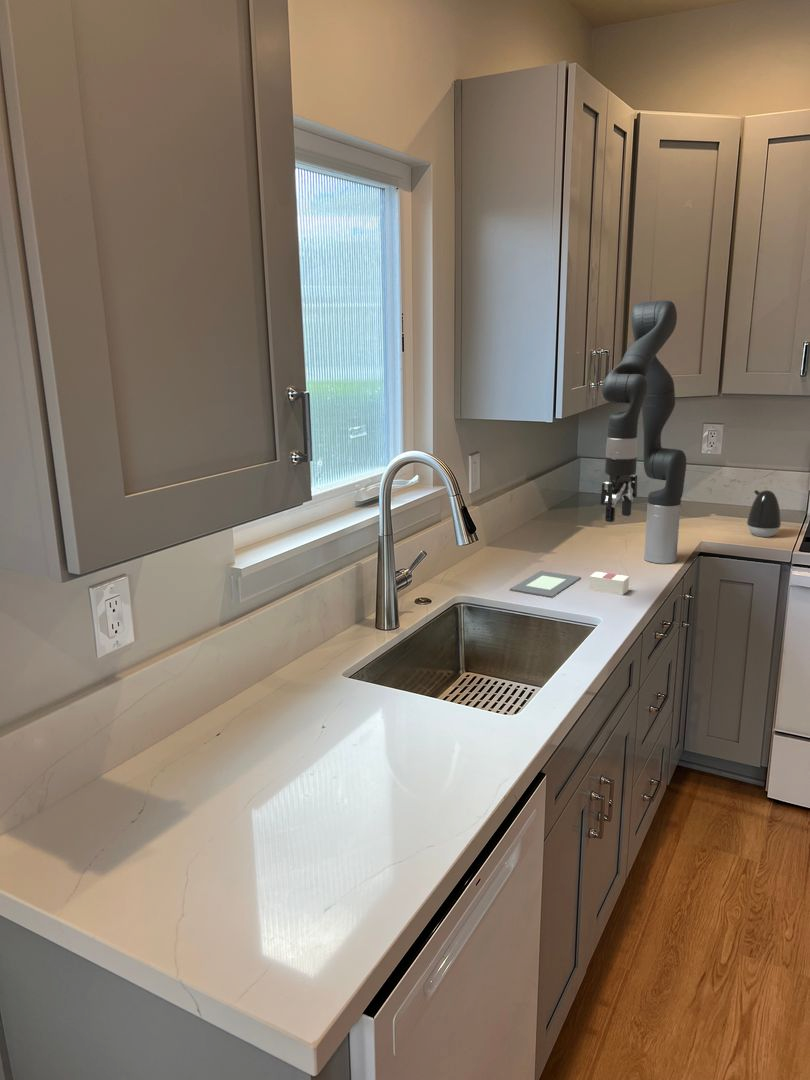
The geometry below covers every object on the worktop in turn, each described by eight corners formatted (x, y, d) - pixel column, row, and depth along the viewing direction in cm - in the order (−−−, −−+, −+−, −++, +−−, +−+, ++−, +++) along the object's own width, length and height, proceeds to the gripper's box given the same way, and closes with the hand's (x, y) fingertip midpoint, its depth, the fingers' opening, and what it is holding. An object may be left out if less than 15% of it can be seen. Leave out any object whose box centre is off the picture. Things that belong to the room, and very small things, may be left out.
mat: (540, 571, 226) (540, 570, 226) (581, 578, 220) (581, 576, 220) (509, 590, 210) (509, 588, 210) (552, 597, 204) (552, 595, 204)
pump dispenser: (763, 530, 271) (767, 486, 268) (786, 537, 262) (791, 492, 258) (738, 533, 268) (743, 488, 265) (761, 540, 259) (765, 494, 255)
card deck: (595, 585, 214) (596, 571, 213) (628, 590, 209) (629, 576, 208) (588, 590, 210) (589, 575, 209) (622, 596, 205) (623, 580, 204)
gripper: (621, 450, 206) (618, 511, 210) (593, 457, 196) (590, 521, 200) (648, 453, 201) (644, 515, 205) (621, 460, 191) (617, 525, 195)
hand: (618, 518), depth 203 cm, fingers open, 8 cm apart
